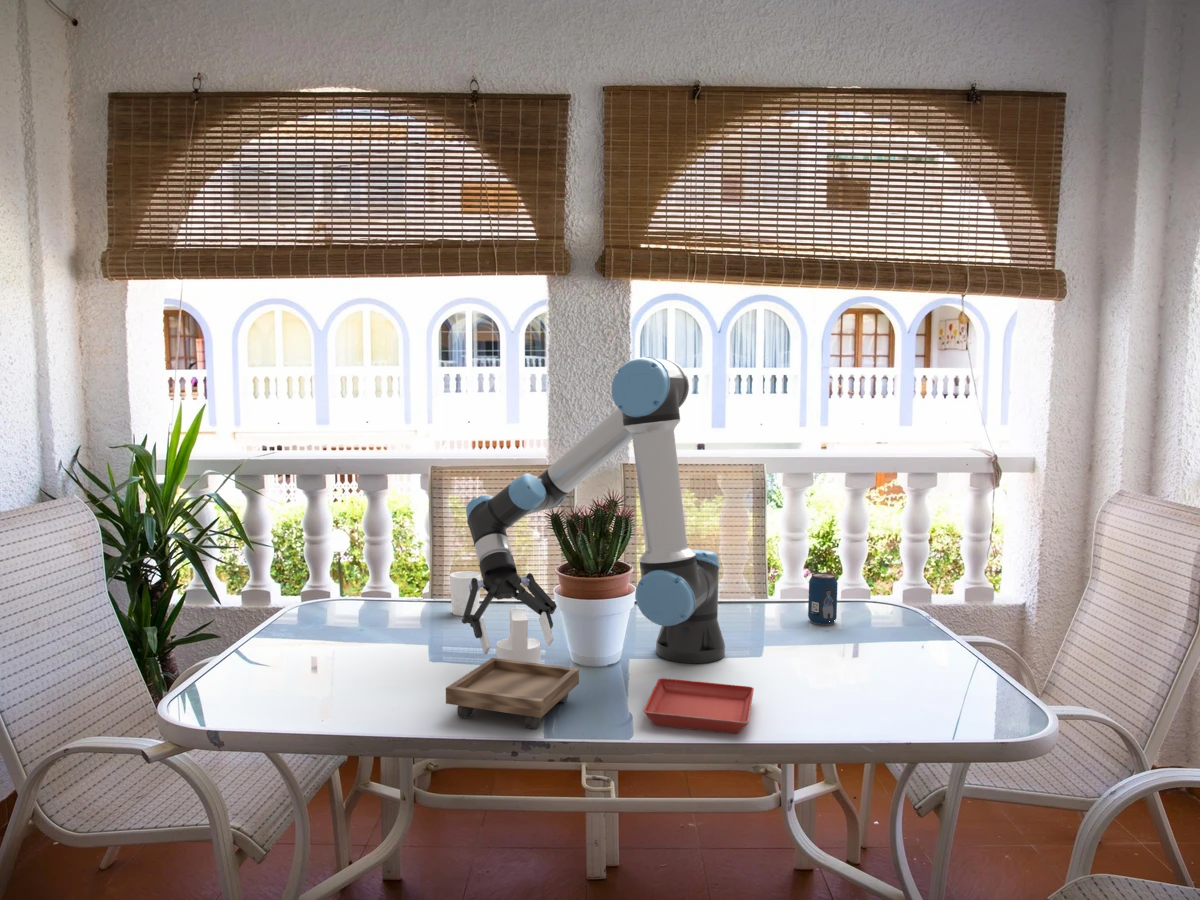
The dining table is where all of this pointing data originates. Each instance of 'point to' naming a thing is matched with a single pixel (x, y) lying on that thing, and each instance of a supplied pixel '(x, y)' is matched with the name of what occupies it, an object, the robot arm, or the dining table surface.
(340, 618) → the dining table surface
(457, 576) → the white cup
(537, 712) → the cart
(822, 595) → the soda can
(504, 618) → the dining table surface
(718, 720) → the plant saucer
